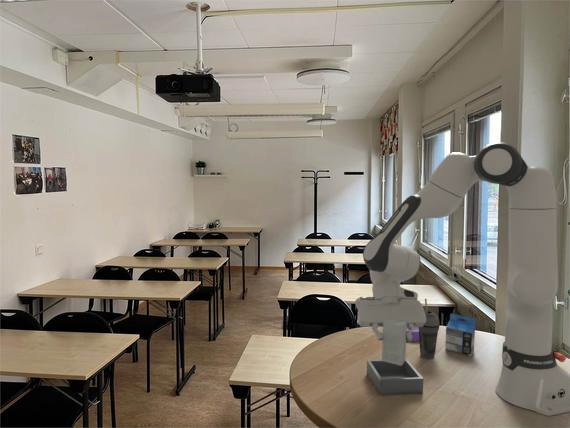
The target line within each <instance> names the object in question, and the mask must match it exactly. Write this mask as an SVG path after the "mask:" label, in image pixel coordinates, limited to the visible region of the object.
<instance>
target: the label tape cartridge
mask: <svg viewBox="0 0 570 428" xmlns="http://www.w3.org/2000/svg"><path fill="white" fill-rule="evenodd" d="M462 319H463V320H464V321H463V320H462ZM475 334H476V318H473V317H468V316H463V315H459V314H455V313H450V314H449V321H448V322H447V325H446V327H445V350H447V351H450V352H454V353H458V354H462V355H465V356H469V357H472V356H473V355H474V353H475V338H476V337H475V336H476V335H475ZM472 354H473V355H472Z"/></svg>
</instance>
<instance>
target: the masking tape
mask: <svg viewBox="0 0 570 428" xmlns="http://www.w3.org/2000/svg"><path fill="white" fill-rule="evenodd" d="M409 331H410V330H408V328H406V333H409ZM411 341H414V342H417V341H419V329H418V327H414V329H413V331H412V340H411ZM411 341H410V342H411Z"/></svg>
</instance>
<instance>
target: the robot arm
mask: <svg viewBox="0 0 570 428" xmlns="http://www.w3.org/2000/svg"><path fill="white" fill-rule="evenodd" d="M479 181H482V182H487V183H489V184H492V185H502V186H505V188H506V190H507V193H508V194H507V195H508V237H507V239H508V266H507V267H508V270H507V287H506V292H507V293H506V309H505V330H504V331H505V332H504V334H505V335H504V342H502V343H503V344H502V352H501V353H502V354H501V357H502V359H501V360H502V366H501V370H500V376H499V379H498V382H497V385H496V387H495V392H496V393H497V395H498V396H499V397H500V398H501V399H503V400H504V401H506V402H508V403H509V404H512V405H514V406H516V407H519V408H523V409H526V410H531V411H534V412H536V413H538V414H542V415H545V416H548V417H549V416H554V415H555V416H556V415H559V414H560V415H561V414H564V413H570V412H569V411H570V373H569V372H568V371H567V370H565V369H564V367H561V366H560V365H559V364H558V363H557V361H556V360H558V361H559V362H560V363H564V362H566V359H567V357H566V355H564V354H562V353H561V352H556V351H555V350H554V349H552V342H553V330H554V328H553V327H554V320H553V319H554V317H553V315H554V314H553V300H554V298H555V297H556V295H557V292H558V290H559V267H558V246H557V213H558V212H557V207H558V205H557V204H558V203H557V191H556V186H555V179H554V176H553V173H552V172H551V171H550V170H549V169H547V168H544V167H542V166H535V165H533V166H531V165H528V164H527V162H526V161H525V160H524V159H523V157H522V155H521V154H520V151H518V149H517V148H516V147H514V146H513V145H511V144H509V143H508V142H505V141H496V142H495V141H494V142H490V143H488V144H486V145H485V146H483V147H482V148H481V149H480V150H479V151H478V152H477V154H476V155H469V154H466V153H463V152H456V151H455V152H451V153H449V154H447V155H446V156H445V157H444V158H443V160H442V161H441V162H440V163H439V164H438V166H437V167H436V168H435V170H434V171H433V172H432V174H431V175H430V177H429V179H428V181H426V184H425V185H424V186H423V187H422V188H421V189H420V190H418V191H417V192H416V193H415V194H412V195H409V196H407V198H406V199H405V200H404V201H402V203H401V204H400V205H399V206H398V208H397V209H396V210H395V211H394V212H393V213H392V215H391V216H390V217H389V219H388V220H387V222H386V223H385V224H384V225H383V226H382V228H381V229H380V230H379V231H378V232H377V234H376V235H375V236H374V237H373V238H372V239H371V240H369V241H368V243H366V245H365V246H364V248H363V252H362V257H363V261H364V264H365V266H366V267H367V269H368V270H369V277H370V281H371V283H372V288H371V291H372V296H360V297H358V298H356V299H355V302H354V304H355V308H356V310H357V324H358V325H359V326H360V327H362V328H363V327H365V328H366V327H367V328H368V327H371V329H372V331H373V333H374V334H375V336H376V339H377V341H382V340H383V332H381V331H380V330H379V329H378V327H379V328H383V322H384V321H385V320H387V319H392V320H399V321H405V322H407V328H408V330H410V331H409V333H406V342H407V341H409V342H411V340H412V331H413V329H414V327H423V325H424V324H425V323H426V315H425V312H426V311H425V309H424V306H423V304H422V302H421V301H420V300H418V299H419V298H418V297H419V296H418V292H416V291H414V290H411V289H406V288H404V287H401V283H404V282H406V281H409V280H410V279H412V278H414V277H416V276H417V275H418V274H419V272H420V269H421V266H422V264H421V263H422V261H421V257H420V254H419V253H418V251H416V250H414V249H412V248H410V247H407V246H403V245H400V244H397V243H396V242H397V240H398V239H399V238H400V237H401V236H402V235H403V233H404V232H405V230H406V229H408V227H409V226H410V225H411V224H412V223H414V222H417V221H420V220H425V219H426V220H427V219H441V218H446V217H448V216H451V215H452V214H453V213H455V211H457V209H458V208H459V206H460V205H461V203H462V201H463V200H464V198H465V196H466V195H467V194H468V192H469V191H470V189H471V188H472V186H473V185H474V184H476V183H477V182H479Z"/></svg>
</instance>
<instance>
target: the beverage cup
mask: <svg viewBox="0 0 570 428" xmlns="http://www.w3.org/2000/svg"><path fill="white" fill-rule="evenodd" d="M427 301H428V300H427V298H425V299H424V304H425V311H424V312H425V315H426V323H425V324H424V325H423V327H418V329H419V353H420V357H421V358H423V359H425V360H434V359H435V354H436V350H437V348H436V347H437V342H438V341H437V340H438V334H439V329H440V326H441V324H440V319H439V317H438V316H437V314H436V313H435V312H432V311H428V304H427Z"/></svg>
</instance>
